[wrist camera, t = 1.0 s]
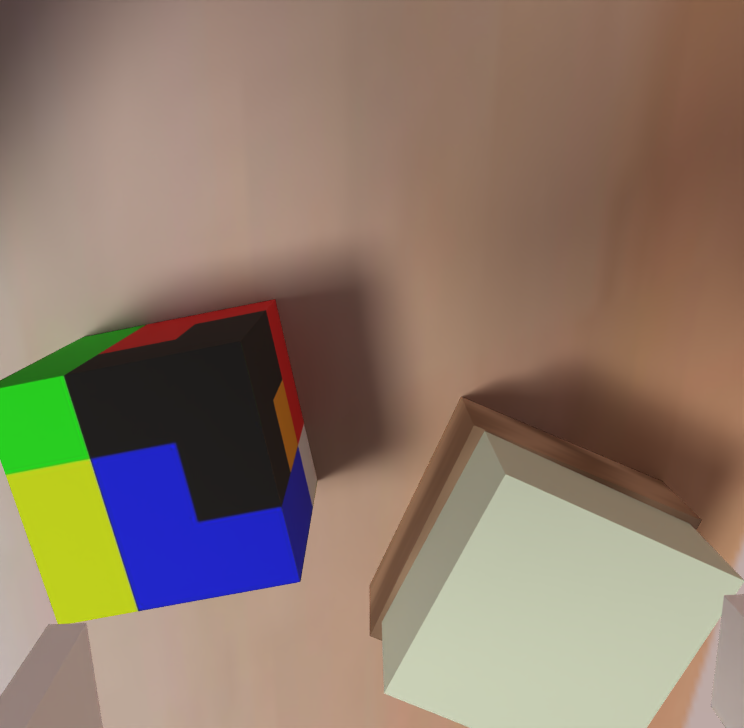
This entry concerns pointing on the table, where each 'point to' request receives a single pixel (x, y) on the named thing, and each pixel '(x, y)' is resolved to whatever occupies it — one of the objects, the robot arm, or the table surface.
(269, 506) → the puzzle toy
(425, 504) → the bottom slab
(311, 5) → the table surface
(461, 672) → the top slab
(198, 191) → the table surface
